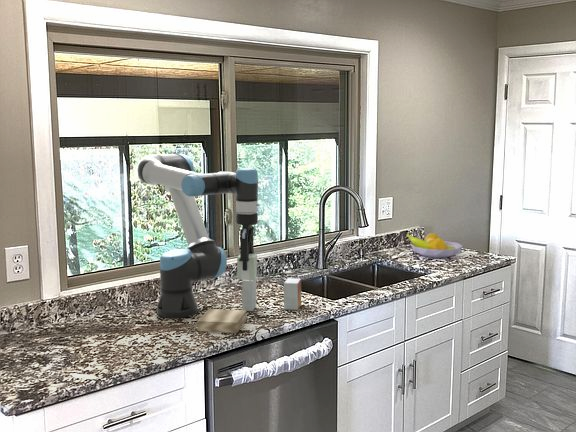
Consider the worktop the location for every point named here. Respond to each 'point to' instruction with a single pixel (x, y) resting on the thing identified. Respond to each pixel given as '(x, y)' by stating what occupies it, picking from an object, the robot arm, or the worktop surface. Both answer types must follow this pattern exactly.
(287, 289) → the small box
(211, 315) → the birch block
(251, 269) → the sage block
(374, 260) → the worktop surface
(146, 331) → the worktop surface
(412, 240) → the fruit bowl
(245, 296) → the skincare box
